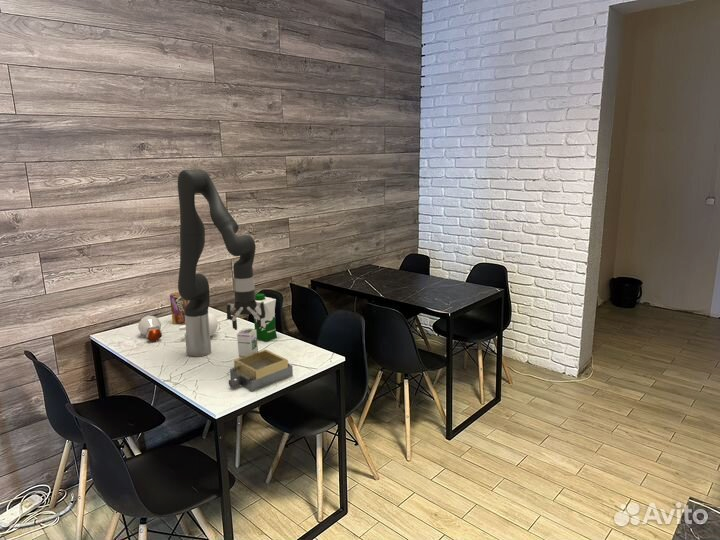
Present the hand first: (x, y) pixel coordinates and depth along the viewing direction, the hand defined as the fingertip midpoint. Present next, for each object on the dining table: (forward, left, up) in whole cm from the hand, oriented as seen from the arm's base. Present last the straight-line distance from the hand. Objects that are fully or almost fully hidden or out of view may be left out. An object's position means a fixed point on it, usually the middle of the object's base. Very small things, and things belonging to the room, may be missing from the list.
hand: (247, 328), depth 193 cm
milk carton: (+4, +29, -16) cm, 33 cm away
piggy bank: (-26, +34, -16) cm, 46 cm away
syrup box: (0, 0, -16) cm, 16 cm away
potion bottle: (-47, +35, -16) cm, 61 cm away
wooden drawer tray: (+4, -12, -15) cm, 20 cm away
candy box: (-38, +53, -16) cm, 67 cm away
